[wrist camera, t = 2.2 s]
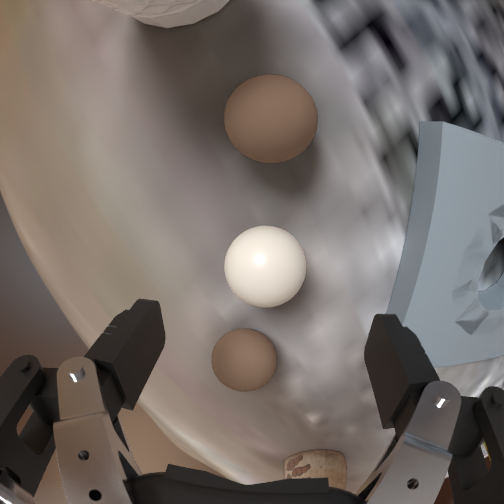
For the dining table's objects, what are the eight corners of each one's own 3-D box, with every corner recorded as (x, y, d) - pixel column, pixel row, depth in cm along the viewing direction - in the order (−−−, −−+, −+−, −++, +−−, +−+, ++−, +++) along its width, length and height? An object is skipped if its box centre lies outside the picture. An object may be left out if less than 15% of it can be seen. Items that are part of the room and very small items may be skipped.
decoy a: (232, 83, 12) (215, 65, 9) (313, 85, 12) (325, 68, 9) (231, 158, 14) (214, 166, 10) (310, 161, 14) (321, 171, 10)
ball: (231, 214, 15) (215, 241, 12) (306, 218, 15) (314, 246, 11) (231, 280, 17) (218, 320, 13) (299, 284, 17) (304, 326, 13)
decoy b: (216, 313, 18) (202, 355, 14) (279, 317, 18) (278, 362, 14) (219, 357, 20) (208, 400, 16) (275, 362, 19) (273, 406, 16)
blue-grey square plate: (419, 121, 12) (442, 121, 10) (556, 173, 11) (576, 181, 9) (374, 348, 18) (383, 373, 16) (508, 335, 17) (521, 351, 15)
